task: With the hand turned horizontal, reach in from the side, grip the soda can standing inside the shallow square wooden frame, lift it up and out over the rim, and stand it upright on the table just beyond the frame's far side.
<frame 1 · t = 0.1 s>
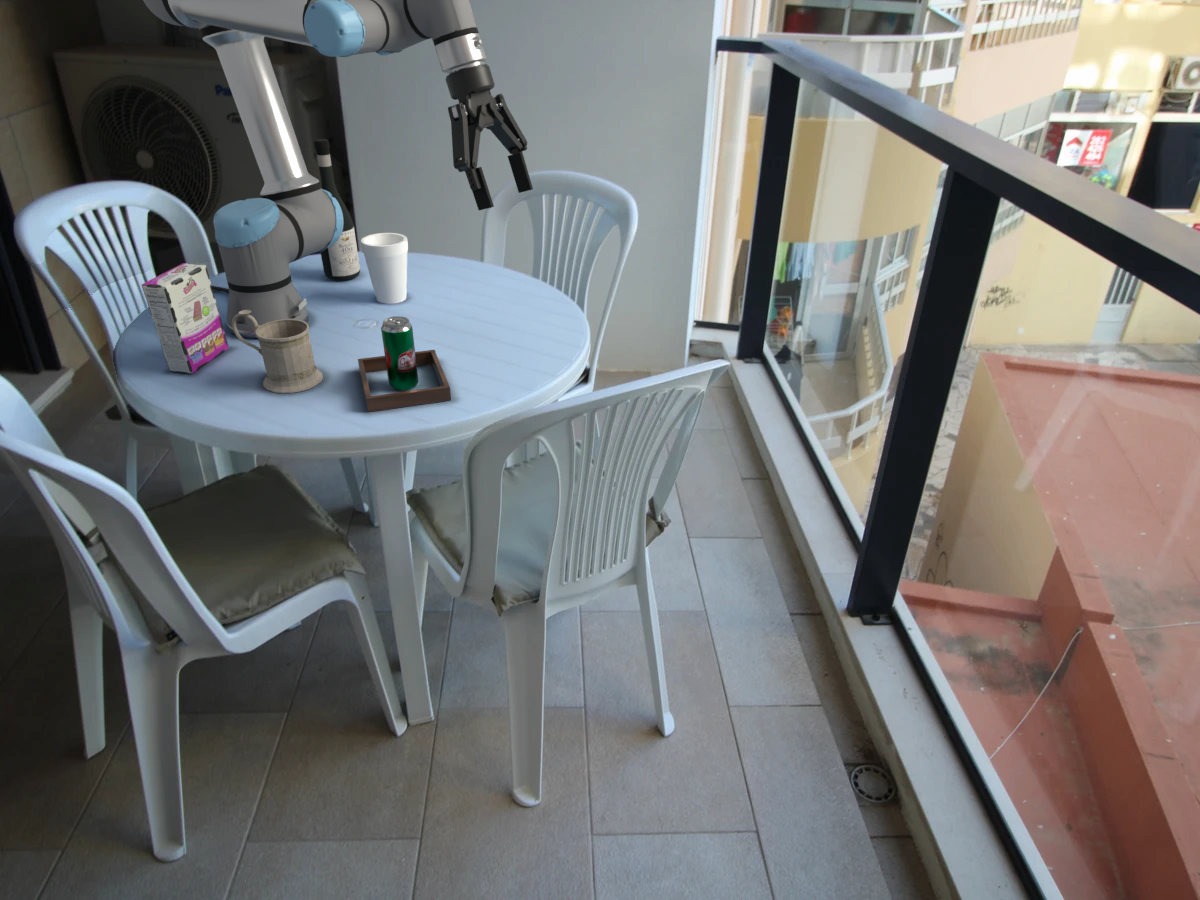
hand: (507, 199, 135), 28 cm above the table, tool tilted 20°, fingers open, 13 cm apart
wine bottle: (343, 277, 180), on the table
square wooden frame: (404, 385, 135), on the table
mug: (281, 379, 136), on the table
foam cup: (391, 299, 169), on the table
soda can: (404, 386, 135), resting in square wooden frame
candy bar box: (199, 361, 141), on the table
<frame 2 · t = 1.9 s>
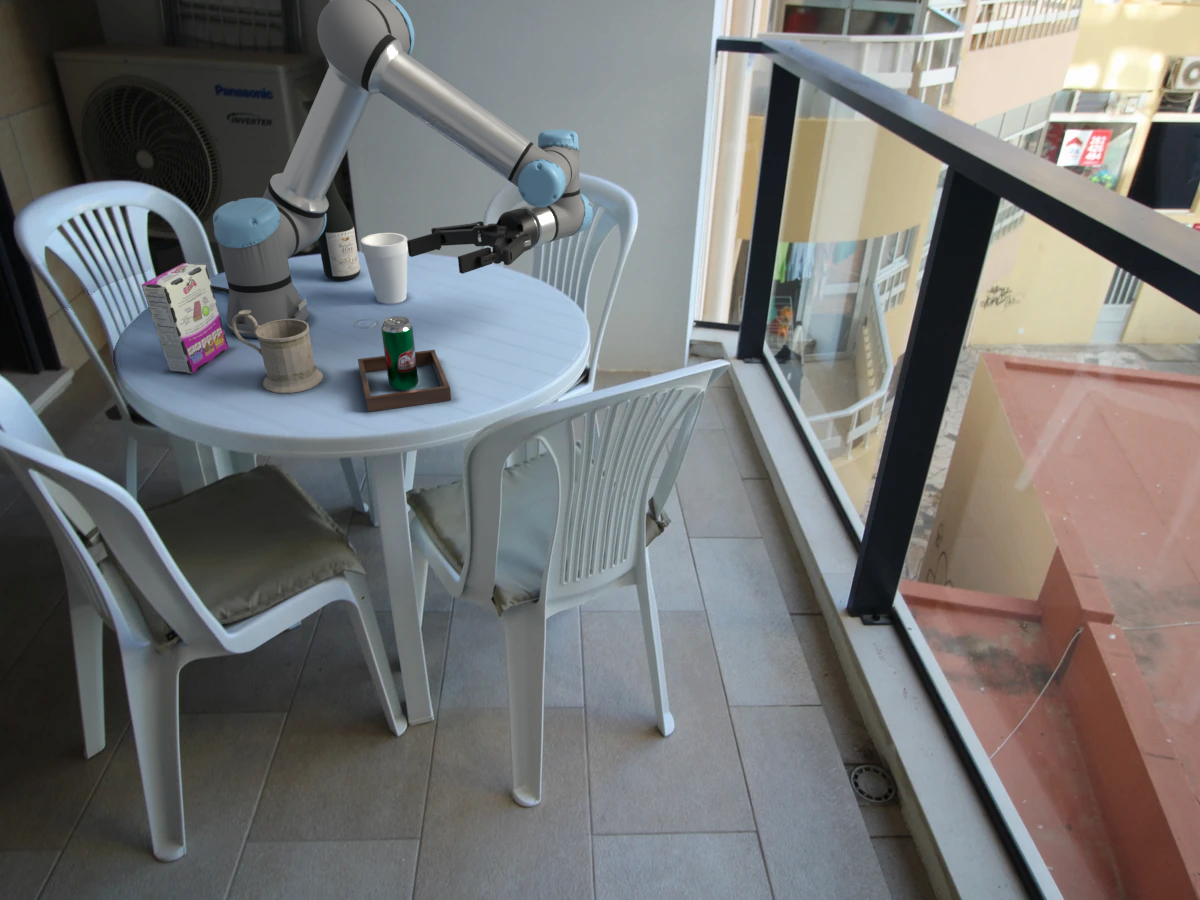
hand: (433, 256, 130), 21 cm above the table, tool horizontal, fingers open, 13 cm apart
nothing on the table moved.
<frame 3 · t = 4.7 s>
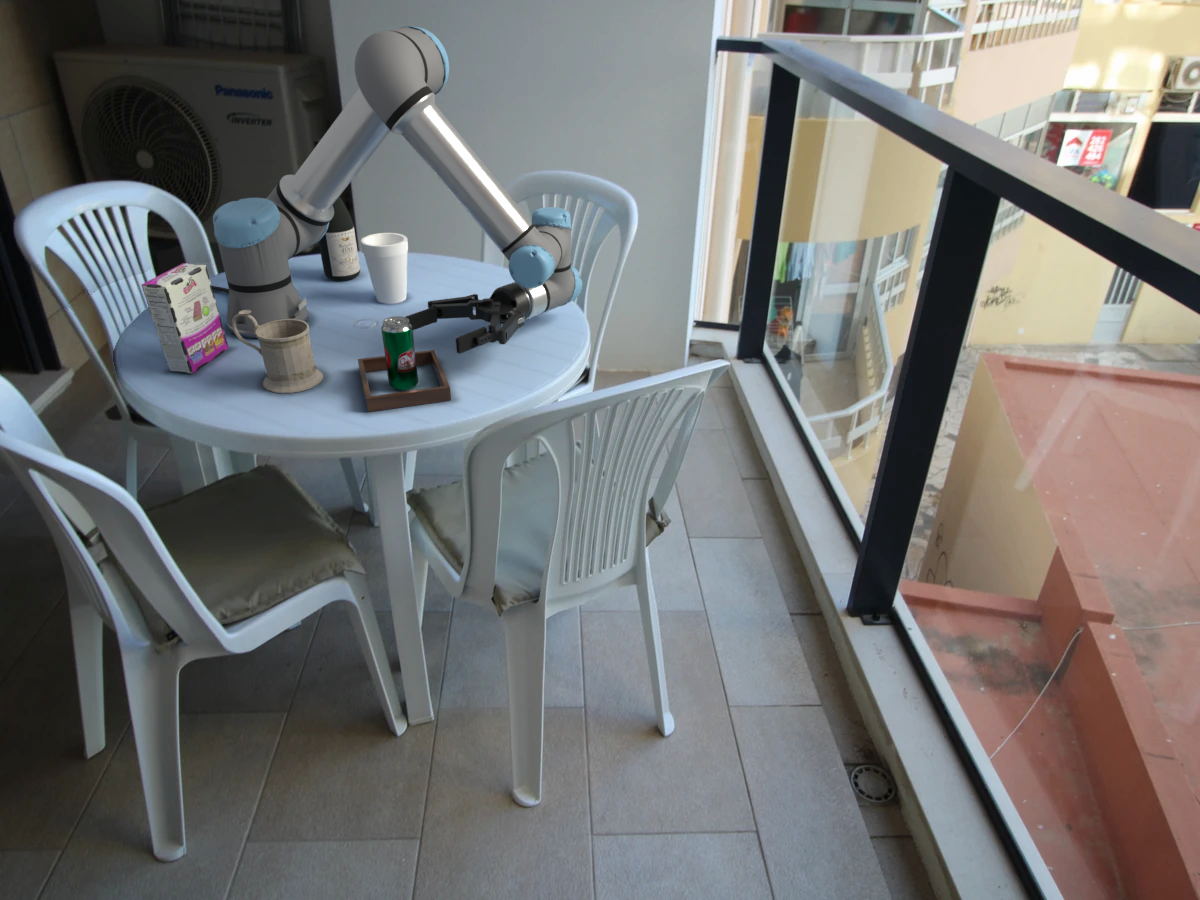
hand: (431, 334, 135), 7 cm above the table, tool horizontal, fingers open, 13 cm apart
nothing on the table moved.
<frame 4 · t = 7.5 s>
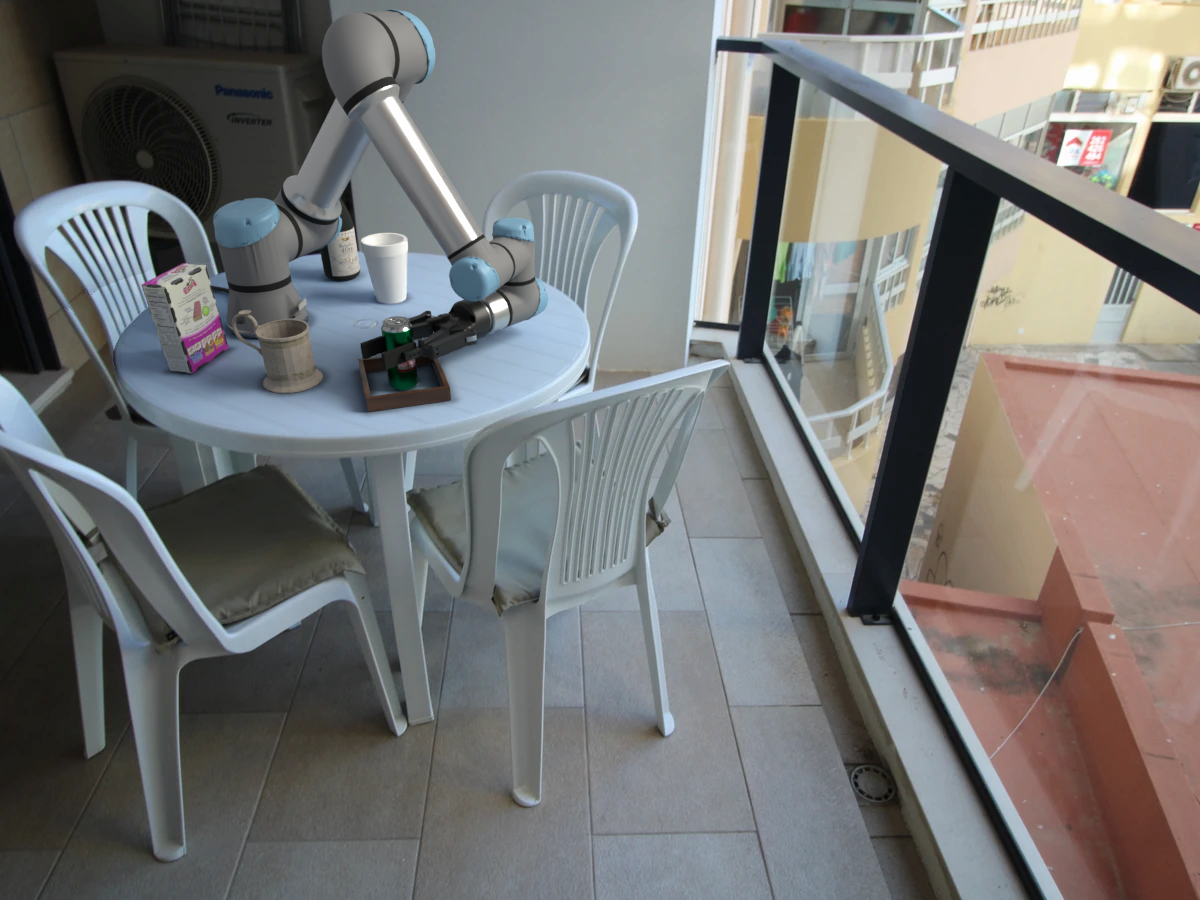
hand: (373, 356, 127), 7 cm above the table, tool horizontal, fingers closed on soda can, 5 cm apart
soda can: (404, 386, 135), resting in square wooden frame, touching gripper
everything else where it was.
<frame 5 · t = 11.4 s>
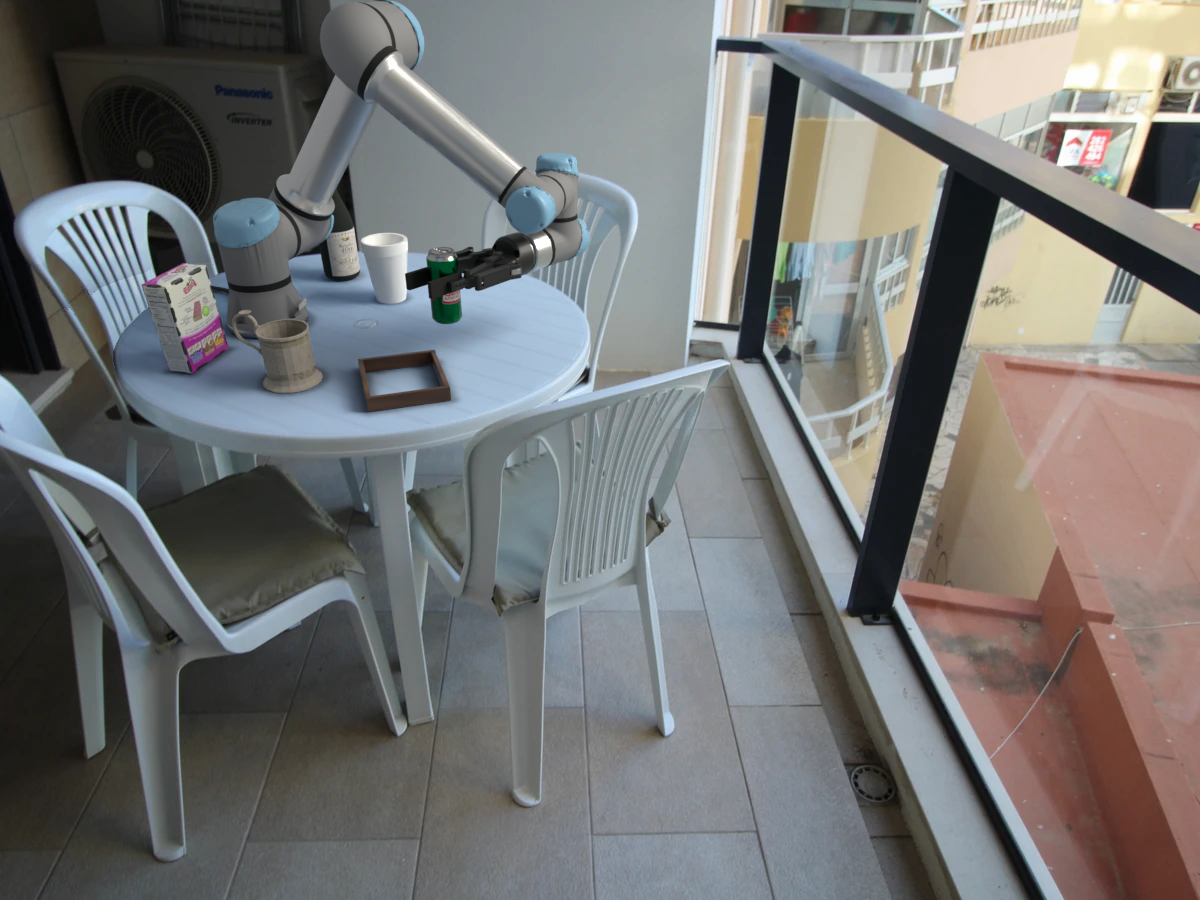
hand: (418, 286, 125), 18 cm above the table, tool horizontal, fingers closed on soda can, 5 cm apart
soda can: (447, 320, 133), point 11 cm above the table, touching gripper
everything else where it was.
when the fingers open (7 cm above the table, at t = 15.5 s): soda can stays where it is, on the table.
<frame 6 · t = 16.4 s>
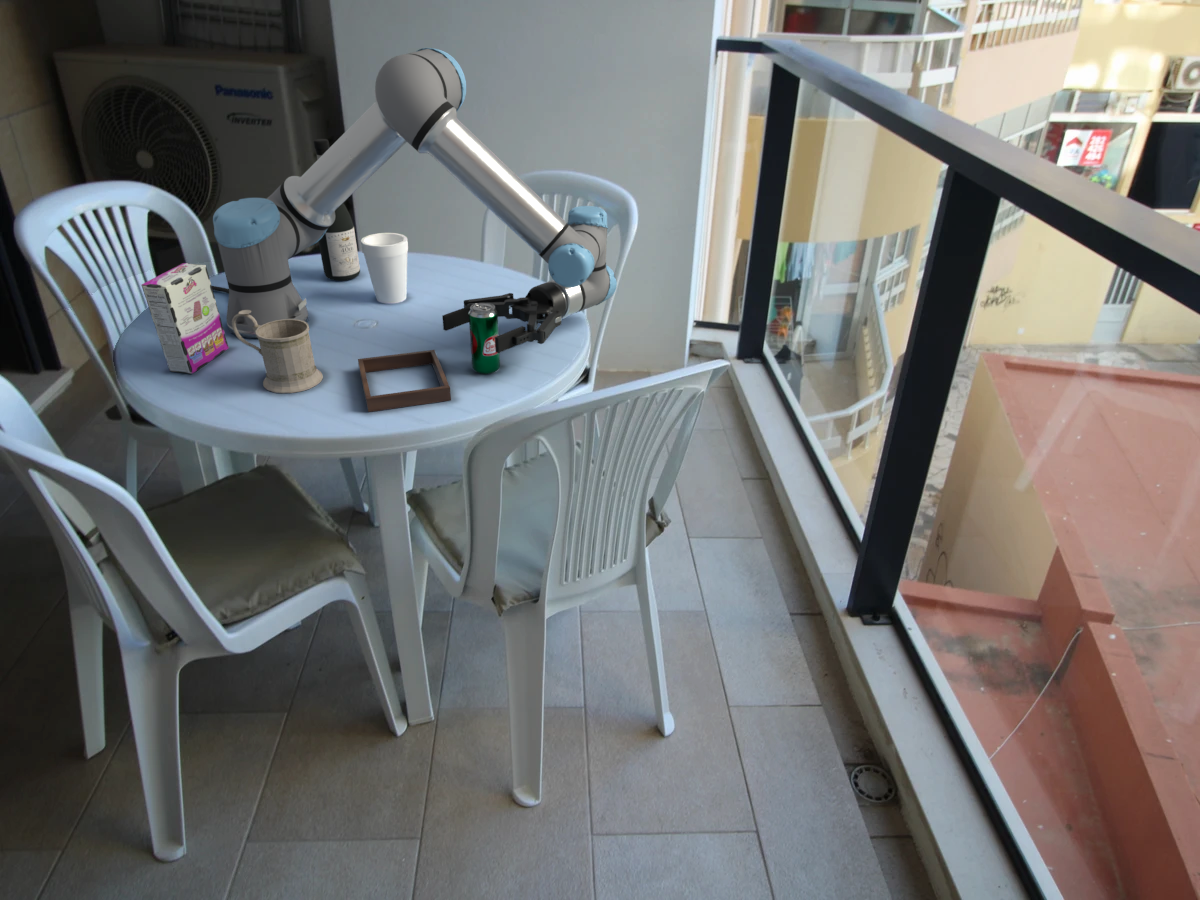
hand: (469, 334, 134), 8 cm above the table, tool horizontal, fingers open, 13 cm apart
soda can: (486, 370, 141), on the table
everything else where it was.
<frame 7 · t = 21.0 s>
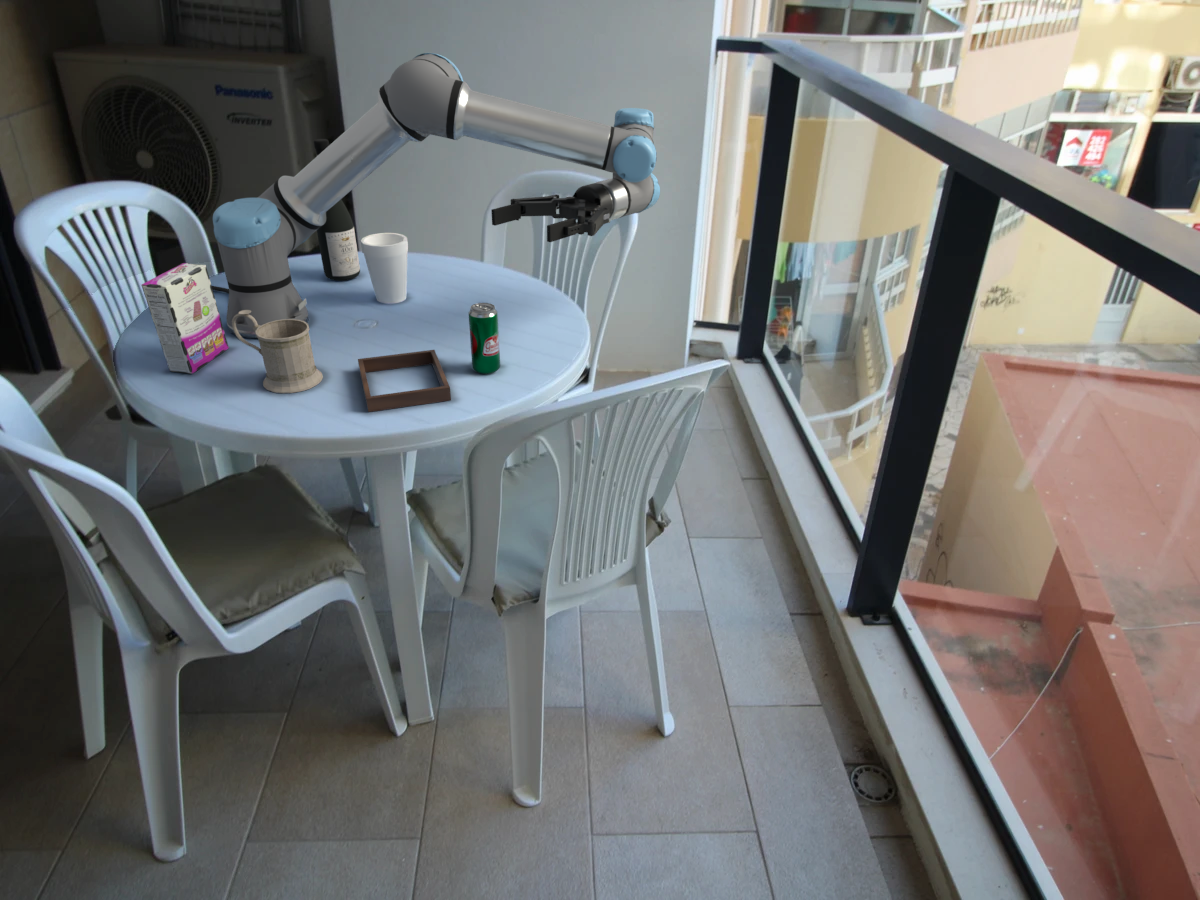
hand: (519, 225, 134), 24 cm above the table, tool horizontal, fingers open, 13 cm apart
nothing on the table moved.
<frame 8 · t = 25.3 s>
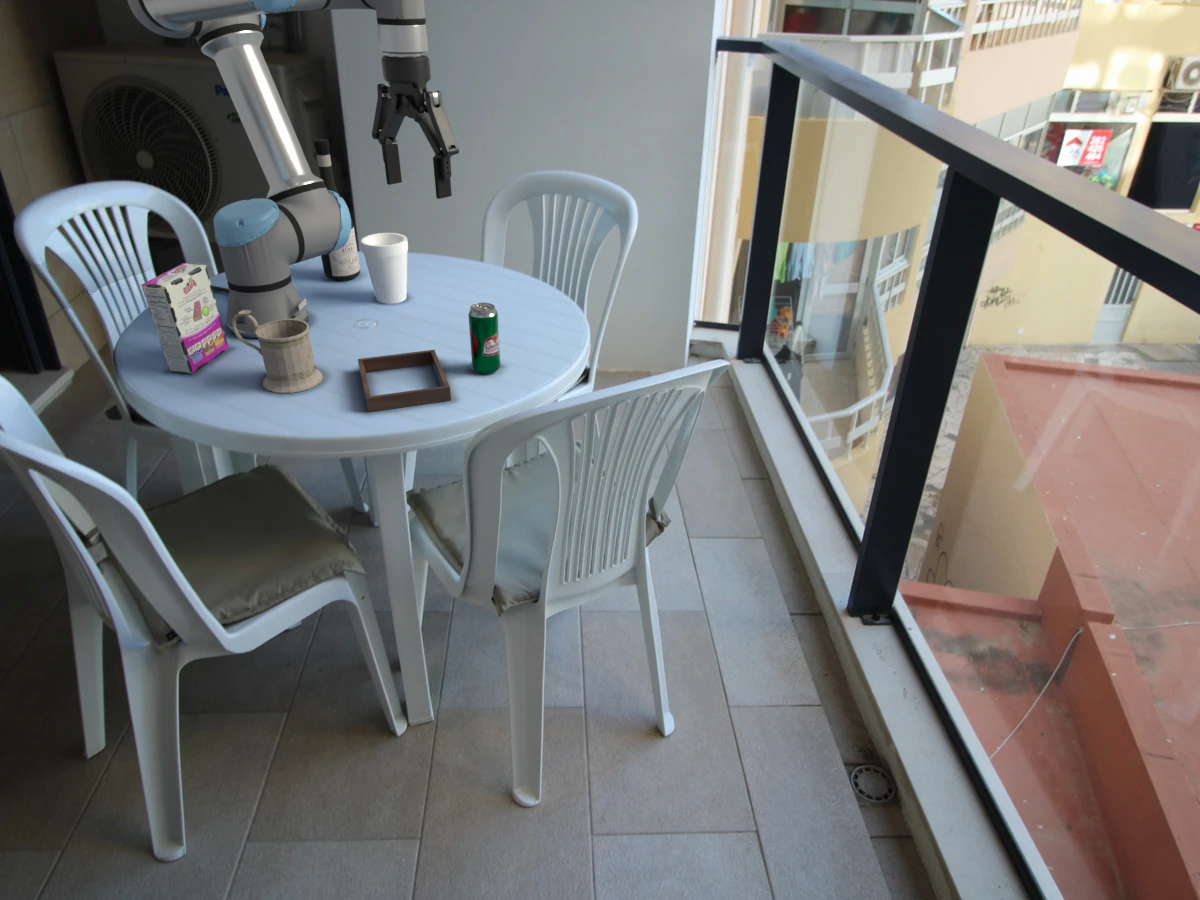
hand: (418, 190, 135), 29 cm above the table, tool pointing down, fingers open, 13 cm apart
nothing on the table moved.
at the end: soda can inside the target area (0.0 cm from its centre), on the table; soda can tilted 0°; the gripper is holding nothing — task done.
